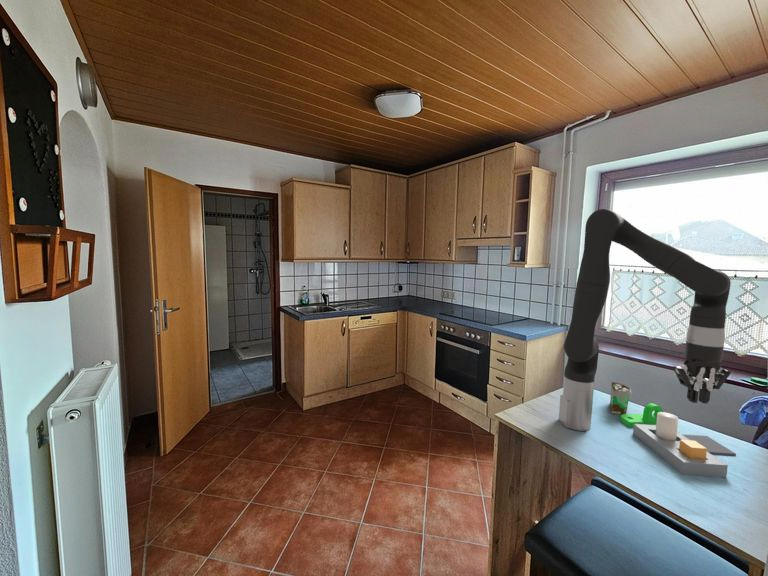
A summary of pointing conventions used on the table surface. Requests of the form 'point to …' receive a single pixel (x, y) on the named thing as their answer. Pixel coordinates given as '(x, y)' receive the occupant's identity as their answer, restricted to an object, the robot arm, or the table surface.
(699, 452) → the orange cube
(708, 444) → the mat
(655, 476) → the table surface
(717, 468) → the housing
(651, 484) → the table surface
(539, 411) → the table surface
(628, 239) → the robot arm
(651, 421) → the mechanical part
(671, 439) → the white upright cylinder
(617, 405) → the food container
